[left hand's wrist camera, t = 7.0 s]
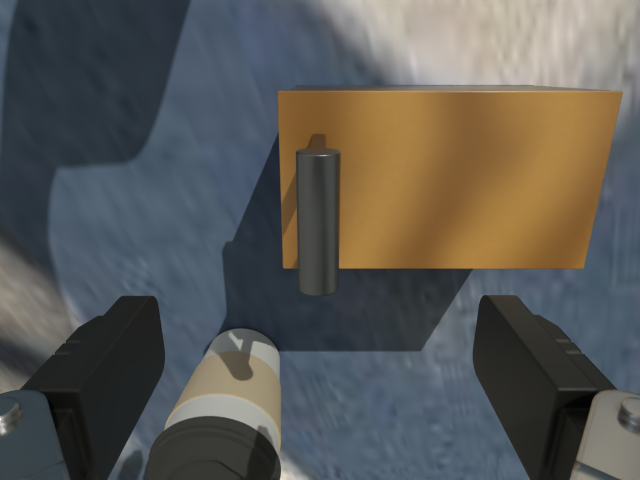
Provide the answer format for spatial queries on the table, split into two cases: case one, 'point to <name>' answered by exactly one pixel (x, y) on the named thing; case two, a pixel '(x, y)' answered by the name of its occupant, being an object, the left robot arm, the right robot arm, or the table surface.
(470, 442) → the table surface
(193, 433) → the coffee cup
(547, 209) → the lid
